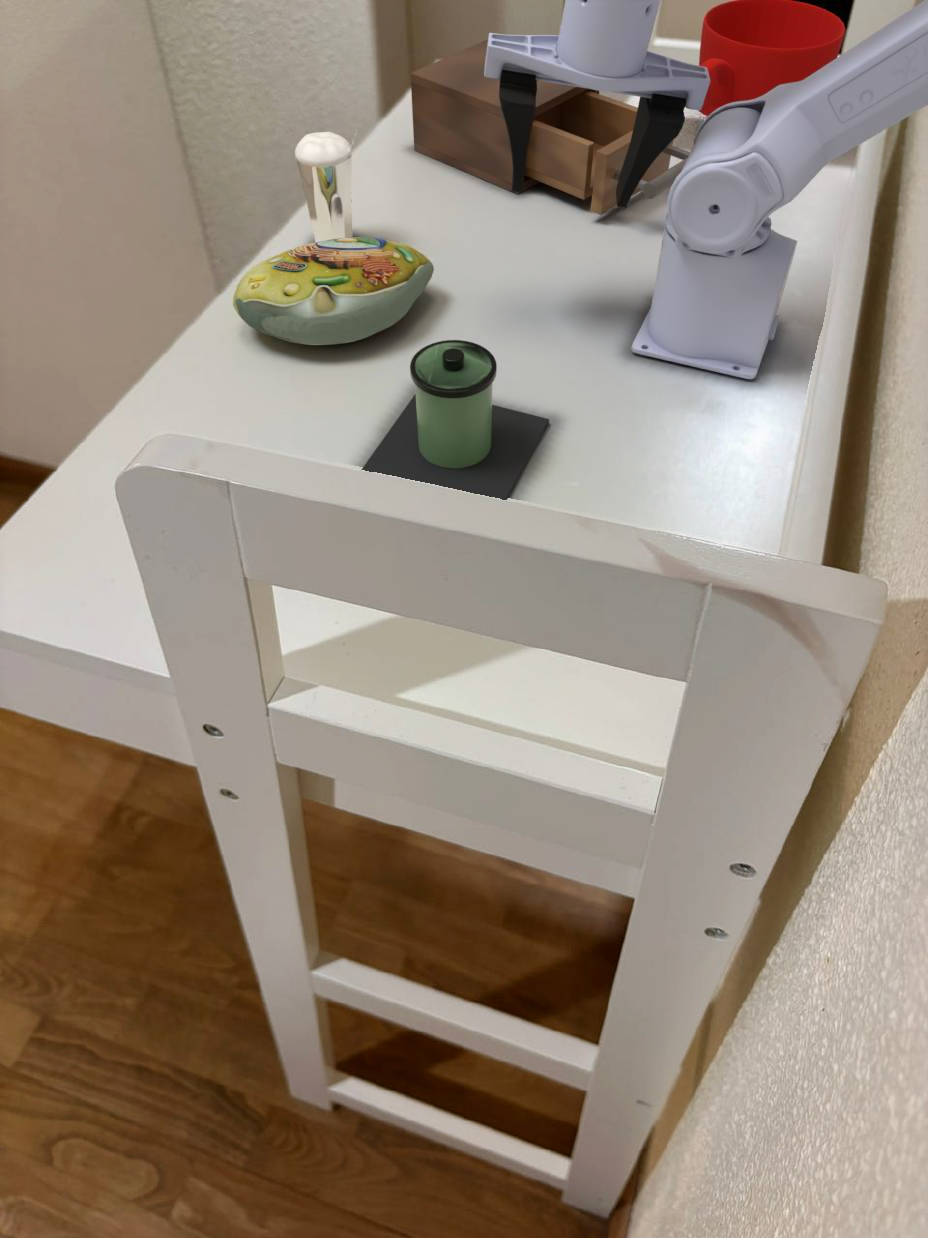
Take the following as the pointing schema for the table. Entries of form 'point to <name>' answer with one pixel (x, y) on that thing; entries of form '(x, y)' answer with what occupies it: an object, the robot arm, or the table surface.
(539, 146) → the drawer
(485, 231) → the table surface
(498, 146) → the cabinet
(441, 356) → the pot
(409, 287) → the cell model
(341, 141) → the milkshake
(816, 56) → the ceramic cup
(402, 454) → the mat
